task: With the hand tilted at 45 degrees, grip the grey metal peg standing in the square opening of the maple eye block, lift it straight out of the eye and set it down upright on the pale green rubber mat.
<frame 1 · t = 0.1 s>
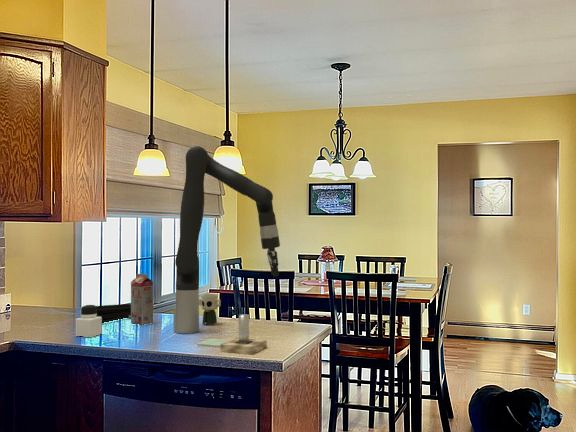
hand: (275, 275, 240), 22 cm above the counter, tool pointing down, fingers open, 8 cm apart
juice carton: (142, 324, 253), on the counter
mat: (215, 343, 212), on the counter
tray: (106, 319, 268), on the counter
peg: (243, 332, 202), in the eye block
big headed toy figurine: (209, 324, 252), on the counter
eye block: (244, 349, 202), on the counter
medicine bottle: (88, 336, 228), on the counter
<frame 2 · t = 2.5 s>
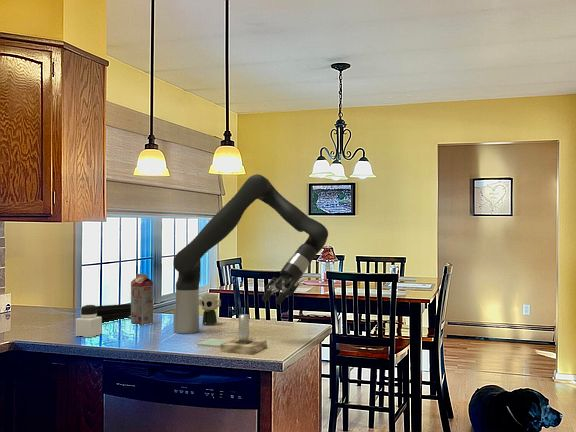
hand: (270, 301, 210), 16 cm above the counter, tool tilted 45°, fingers open, 8 cm apart
nothing on the counter moved.
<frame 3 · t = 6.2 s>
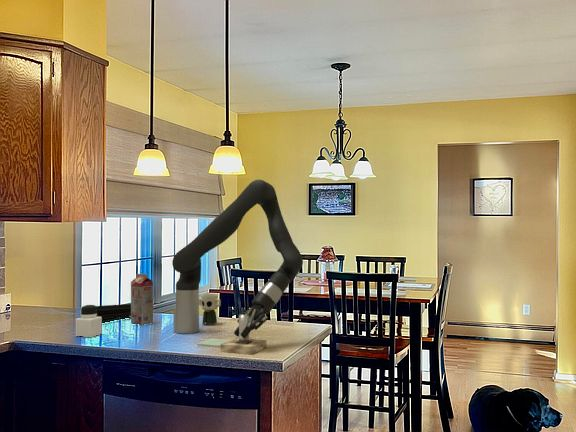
hand: (239, 335, 201), 5 cm above the counter, tool tilted 45°, fingers closed on peg, 3 cm apart
peg: (244, 332, 202), in the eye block, touching gripper
everything else where it was.
when the fingers open (7 cm above the counter, at t = 11.2 s): peg drops 1 cm, resting on mat.
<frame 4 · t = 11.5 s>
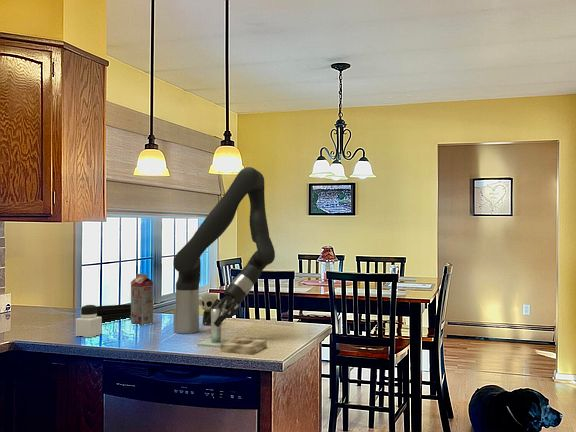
hand: (211, 324, 211), 7 cm above the counter, tool tilted 45°, fingers open, 5 cm apart
peg: (215, 325, 212), on the mat, point 7 cm above the counter
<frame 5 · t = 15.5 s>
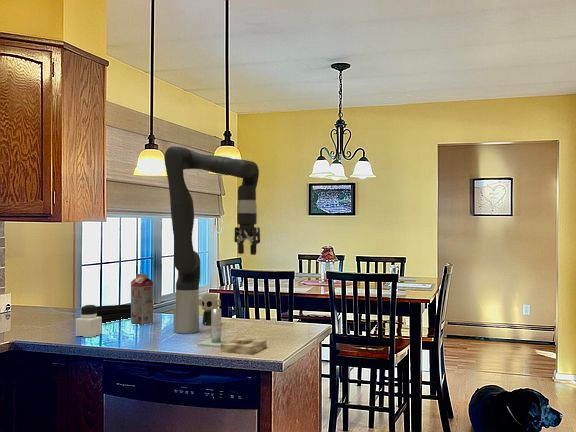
hand: (247, 254, 223), 32 cm above the counter, tool pointing down, fingers open, 8 cm apart
at the end: peg inside the target area on the mat (0.1 cm from its centre), point 6.6 cm above the mat's base; peg tilted 1°; the gripper is holding nothing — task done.
